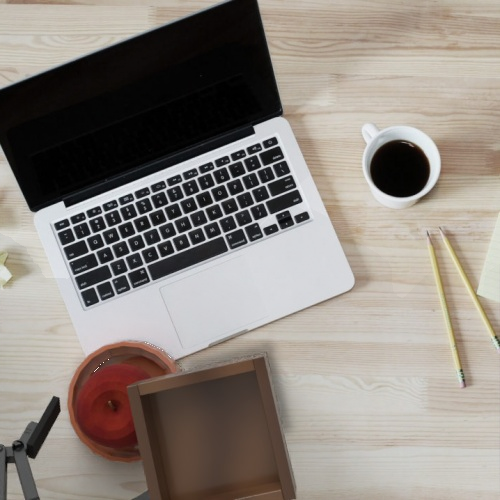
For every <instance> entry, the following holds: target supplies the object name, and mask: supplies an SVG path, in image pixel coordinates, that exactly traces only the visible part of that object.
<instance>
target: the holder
mask: <svg viewBox="0 0 500 500" xmlns="http://www.w3.org/2000/svg"><path fill="white" fill-rule="evenodd" d="M256 354H257V353H256ZM247 356H248V355H247ZM267 356H268V353H267V354H266V353H262V354H257V355H253V356H248V357H244V356H243V357H244V358H239V357H238V358H239V359H235V358H234V359H235V360H230V359H229V360H230V361H226V360H225V361H226V362H221V361H220V362H221V363H217V362H216V363H217V364H212V363H211V364H212V365H208V364H207V365H208V366H203V365H202V366H203V367H199V366H198V367H199V368H195V367H193V368H191V369H186V370H181V372H177V373H172V374H168V375H163V376H159V377H154V378H150V379H145V380H141V381H137V382H135V383H133V384H131V385H129V386H127V392H128V397H129V402H130V407H131V411H132V416H133V421H134V426H135V430H136V435H137V440H138V445H139V449H140V454H141V459H142V460H141V463H142V468H143V472H144V477H145V482H146V487H147V491H148V492H149V497H150V500H296V499H297V482H296V478H295V473H294V470H293V469H294V468H293V464H292V461H291V456H290V451H289V448H288V443H287V438H286V435H285V430H284V425H282V422H283V419H282V420H281V418H282V415H281V416H280V414H281V411H280V412H279V409H280V406H279V407H278V405H279V402H278V403H277V400H278V397H277V398H276V396H277V393H276V394H275V392H276V388H275V389H274V387H275V384H274V385H273V383H274V380H273V381H272V378H273V375H272V376H271V374H272V371H271V372H270V369H271V366H270V367H269V365H270V362H269V363H268V361H269V357H268V358H267Z"/></svg>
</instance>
